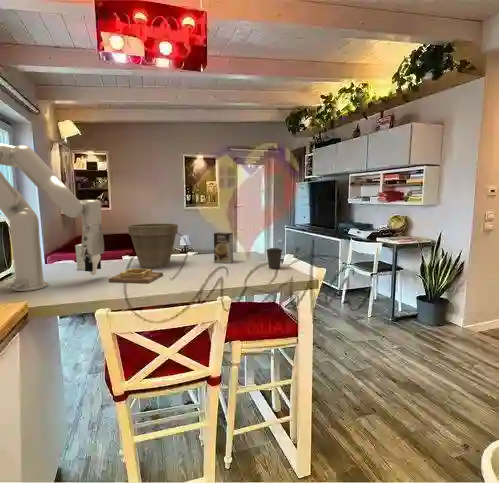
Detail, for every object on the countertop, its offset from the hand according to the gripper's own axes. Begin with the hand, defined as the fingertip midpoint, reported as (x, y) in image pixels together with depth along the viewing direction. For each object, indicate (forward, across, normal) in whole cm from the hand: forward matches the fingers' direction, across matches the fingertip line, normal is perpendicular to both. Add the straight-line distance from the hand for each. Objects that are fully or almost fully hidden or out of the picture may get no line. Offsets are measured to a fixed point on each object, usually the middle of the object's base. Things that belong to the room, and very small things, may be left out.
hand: (93, 269), depth 157 cm
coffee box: (+2, +48, -47) cm, 67 cm away
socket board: (+4, +5, -18) cm, 19 cm away
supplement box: (+5, +23, +18) cm, 30 cm away
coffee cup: (+2, +35, -76) cm, 83 cm away
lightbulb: (+3, 0, 0) cm, 3 cm away
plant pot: (+4, +35, -13) cm, 37 cm away
